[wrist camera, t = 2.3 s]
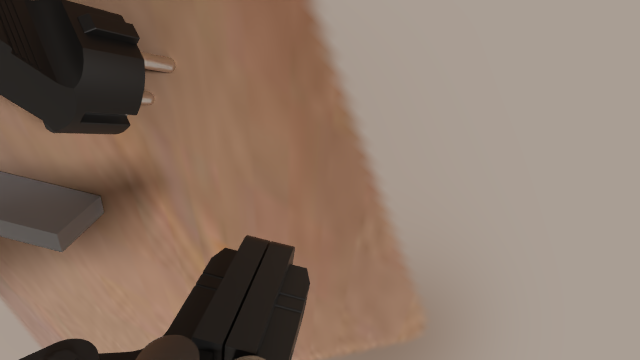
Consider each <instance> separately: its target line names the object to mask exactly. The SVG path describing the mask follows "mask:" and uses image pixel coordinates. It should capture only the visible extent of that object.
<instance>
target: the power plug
mask: <svg viewBox="0 0 640 360" xmlns="http://www.w3.org/2000/svg"><path fill="white" fill-rule="evenodd" d="M139 39H140V38H139V36H138V34H137V32H136V30H135V28H134V26H133V24H129V23H125V21H124V19H123V17H122V16H121V15H118V14H115V13H111V12H107V11H104V10H100V9H96V8H93V7H89V6H85V5H82V4H78V3H74V2H71V1H67V0H0V95H2V96H3V97H5V98H7V99H8V100H10V101H12V102H13V103H15V104H17V105H18V106H20V107H21V108H23V109H25V110H26V111H28V112H30V113H31V114H33V115H35V116H36V117H38V118H40V119H41V120H43V122H44V125H45V127H46V129H48V130H49V131H51V132H53V133H85V134H119V133H122V132H124V131H125V130H126V129H127V128H128V127H129V126H130V123H129V121H128V119H127V115H137V113H138V111H139V108H140V105H151V104H153V103H154V100H155V98H154V95H153V94H152V93H151V92H149V91H144V85H145V69H150V70H156V71H162V72H167V73H169V72H173V71H174V70H175V68H176V64H175V61H174V60H173V59H171V58H169V57H164V56H159V55H155V54H150V53H145V52H140V50H139V48H138V46H137V43H138V41H139Z"/></svg>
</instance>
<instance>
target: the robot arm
mask: <svg viewBox="0 0 640 360" xmlns="http://www.w3.org/2000/svg"><path fill="white" fill-rule="evenodd" d="M294 251H295V247H293V246H289V245H285V244H281V243H277V242H273V241H272V242H270V241H268V240H264V239H260V238H256V237H252V236H248V235H247V236H246V237H245V238H244V240H243V242H242V244H241V246H240V247H239V249H238V251H236V250H232V249H228V248H224V249H223V250H222V251H220V252H219V253H218V254H216V255H215V256H214V257H212V258H211V260H210V261H209V263H208V265H207V266H206V268H205V270H204V271H203V274H202V275H201V276H200V278H199V279H198V281H197V283H196V286H194V288H193V289H192V291H191V293H190V294H189V296H188V298H187V299H186V301H185V303H184V304H183V306H182V308H181V309H180V311H179V313H178V314H177V316H176V318H175V319H174V321H173V322H172V324H171V326H170V327H169V329H168V330H167V332H166V333H165V334H164V335H163V336H162V337H160V338H158V339H156V340H154V341H152V342H151V343H149V344H148V345H147V346H146V347H145V348H144V349H141V350H137V351H132V352H120V353H102V354H98V351H97V349H96V347H95V346H94V345H93V344H92V343H90V342H89V341H86V340H83V339H67V340H63V341H60V342H57V343H55V344H52V345H50V346H48V347H46V348H43V349H41V350H39V351H37V352H35V353H32V354H30V355H28V356H26V357H24V358H21V359H19V360H291V359H292V355H293V352H294V348H295V344H296V340H297V337H298V333H299V329H300V326H301V322H302V318H303V314H304V310H305V305H306V300H307V295H308V290H309V286H310V281H309V277H308V272H307V268H303V267H299V266H295V265H292V264H293V258H294Z"/></svg>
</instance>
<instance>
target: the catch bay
mask: <svg viewBox="0 0 640 360" xmlns="http://www.w3.org/2000/svg"><path fill="white" fill-rule="evenodd" d="M103 213H104V211H103V206H102V201H101V196H98V195H94V194H90V193H86V192H82V191H78V190H74V189H70V188H66V187H62V186H57V185H53V184H49V183H45V182H41V181H37V180H33V179H29V178H25V177H21V176H17V175H13V174H8V173H4V172H0V236H1V237H5V238H9V239H12V240H16V241H20V242H24V243H28V244H32V245H36V246H40V247H44V248H48V249H51V250H55V251H59V252H63V251H64V250H65V249H66V248H67V247H68V246H70V245H71V244H72V243H73V242H74V241H75V240H76V239H77V238H78V237H79V236H80V235H81V234H82V233H83V232H84V231H85V230H86V229H88V228H89V227H90V226H91V225H92V224H93V223H94V222H95V221H96V220H97V219H98V218H99V217H100V216H101V215H102V214H103Z"/></svg>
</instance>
